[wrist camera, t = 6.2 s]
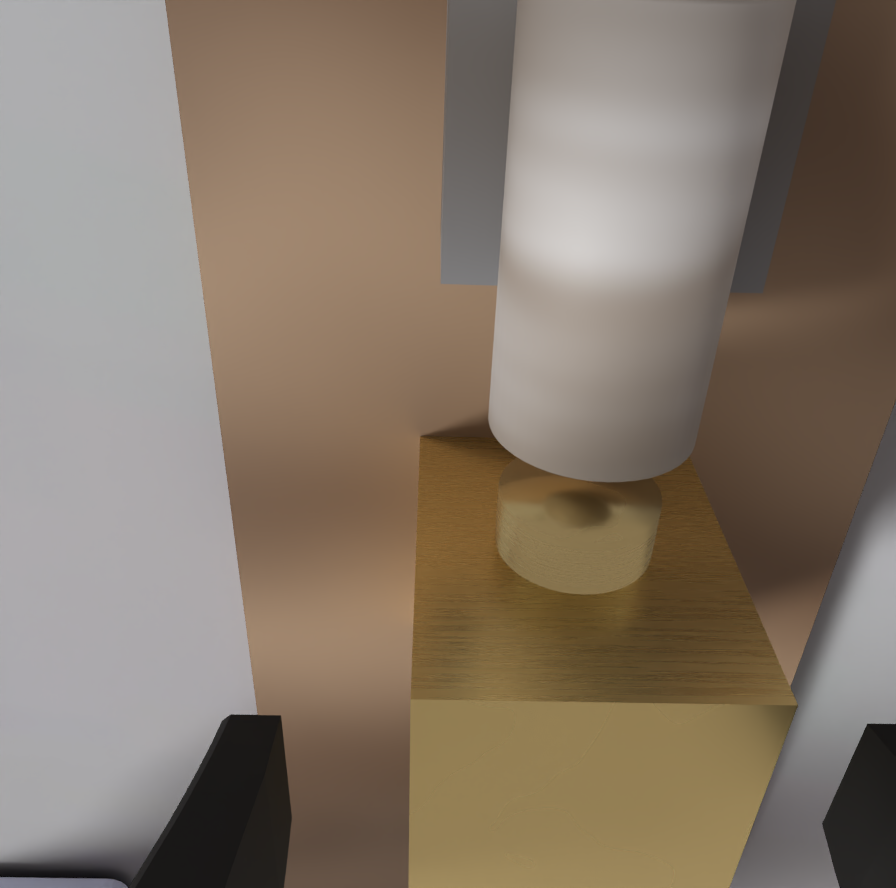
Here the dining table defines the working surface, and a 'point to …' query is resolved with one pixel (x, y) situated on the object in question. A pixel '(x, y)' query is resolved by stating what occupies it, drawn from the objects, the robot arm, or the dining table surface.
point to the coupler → (581, 681)
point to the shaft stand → (523, 310)
